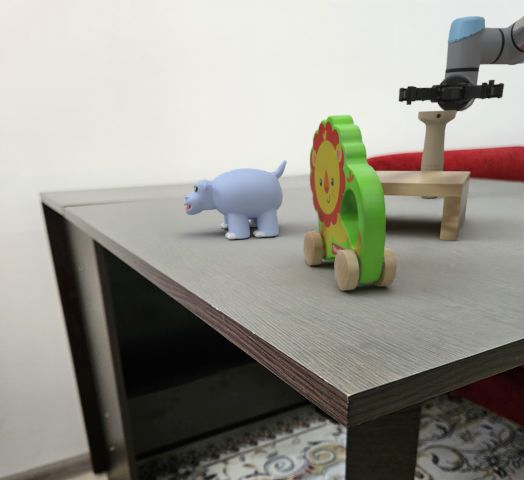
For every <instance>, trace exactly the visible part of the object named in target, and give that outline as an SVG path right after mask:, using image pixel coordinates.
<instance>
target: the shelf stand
mask: <svg viewBox="0 0 524 480" xmlns="http://www.w3.org/2000/svg"><path fill="white" fill-rule="evenodd" d="M375 172H376V173H377V175H378V177H379V179H380V182H381V185H382V189H383V194H384V196H399V197H400V196H402V197H404V196H406V197H421V196H438V197H442V198H444V199H443V206H442V215H441V223H440V233H439V240H440V241H457V240H458V238H459V235H460V232H461V230H462V227H463V225H464V223H465V220H466V211H467V205H468V197H469V196H468V195H469V188H470V182H471V181H470V180H471V171H466V170H465V171H462V170H461V171H460V170H459V171H456V170H455V171H454V170H453V171H451V170H450V171H448V170H447V171H445V170H443V171H421V170H375ZM438 197H437V198H438Z"/></svg>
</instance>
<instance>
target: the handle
mask: <svg viewBox="0 0 524 480" xmlns="http://www.w3.org/2000/svg"><path fill="white" fill-rule="evenodd" d="M456 115H457V114H456V110H450V111H444V110H427V111H426V110H425V111H424V110H423V111H418V115H417V120H419V121H420V122H422V123H423V124H424V126H425V135H424V143H423V149H422V155H421V161H420V162H421V163H420V171H444V162H445V160H444V159H445V158H444V157H445V137H446V128H447V125H448V123H450V122H451V121H453V120H454V119H455V118H456V117H457V116H456ZM420 197H421V198H422V199H436V198H438V196H420Z"/></svg>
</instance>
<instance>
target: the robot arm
mask: <svg viewBox="0 0 524 480" xmlns="http://www.w3.org/2000/svg"><path fill="white" fill-rule="evenodd" d="M521 64H524V15H523V16H522V17H521V18H519V19H518V20H516V21H515V22H512V24H511V25H509V26H507V27H486V19H485V18H484V16H479V15H477V16H476V15H475V16H472V15H471V16H463V17H458V18H456V19H454V20H453V21H452V22H451V23H450V27H449V32H448V37H447V51H446V65H445V73H444V78H443V80H442V81H441V82H440V83H439V84H432V86H431V87H417V86H414V85H408V86H407V87H405V88H404V87H400V88H399V91H398V102H399V103H403V102H406V104H405V105H406V106H411V105H412V103H413V102H418V101H419V102H420V101H421V102H425V101H429V102H430V103H431V104H433V103H434V104H435V103H437V105H438V107H439V108H440V109H442V111H450V110H456V115H457V113H458V112H464V111H466V110H467V109H469V108H471V107H472V105H473V104H474V102H475V100H476V99H477V100H486V99H488V100H491V99H502V98H503V97H504V96H503V95H504V90H505V89H504V88H505V83H503V82H499V83H496V84H495V81H496V80H495V79H489V80H488V82H481V84H478V79H479V71H480V66H481V65H506V66H516V65H521Z"/></svg>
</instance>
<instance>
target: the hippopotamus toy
mask: <svg viewBox="0 0 524 480" xmlns="http://www.w3.org/2000/svg"><path fill="white" fill-rule="evenodd" d="M287 163H288V161H287V160H285V159H283V161H282V162H281V164H279V166H277V168H276V170H275V171H271V172H269V171H268V170H262V169H258V168H245V167H244V168H236V169H232V170H229V171H225V172H223V173H221V174H218V175H217V176H215V177H214V178H213V180H208V179H206V178H204V179H200V180H198V181H197V182H196V183H195V184H194V185H193V190H194V191H192V192H191V193H184V199H183V205H184V206H186V207H185V210H184V212H185V213H186V214H187V215H189V216H195V215H198V214H200V213H202V212H203V211H215V210H216V211H217V212H219V213H220V214H221V215H223V222H221V224H220V227H221V228H222V229H225V230H228V231H227V232H226V233H225V235H224V236H225V238H227V240H236V239H237V240H241V239H242V240H243V239H247V238H250V237H251V229H250V228H257V229H254V230H253V231H252V235H253V236H254V237H255V238H269V237H276V236H279V235H280V231H279V222H278V221H279V220H278V213H277V211H278V210H279V209H280V208H281V206H282V204H283V198H284V197H283V196H284V195H283V190H282V186H281V184H280V181H279V179H280V178H281V177H282V176H283V175H284V172H285V169H286V167H287V166H286V165H287Z"/></svg>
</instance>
